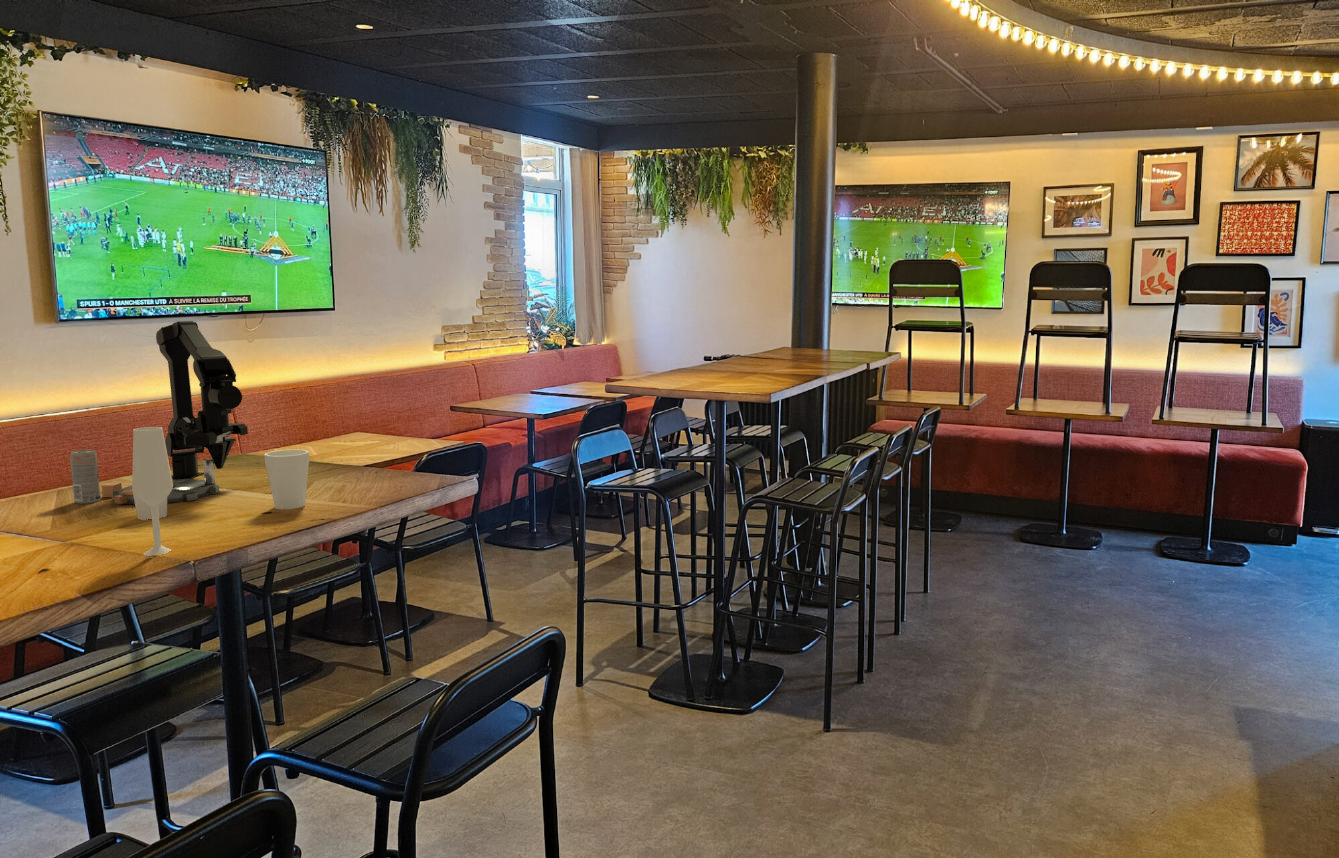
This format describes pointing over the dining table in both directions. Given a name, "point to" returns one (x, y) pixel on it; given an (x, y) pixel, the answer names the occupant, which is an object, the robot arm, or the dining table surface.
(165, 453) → the champagne flute
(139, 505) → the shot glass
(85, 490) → the energy drink
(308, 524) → the dining table surface
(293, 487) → the foam cup
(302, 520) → the dining table surface
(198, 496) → the sprocket
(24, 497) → the dining table surface
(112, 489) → the peach wooden cube
